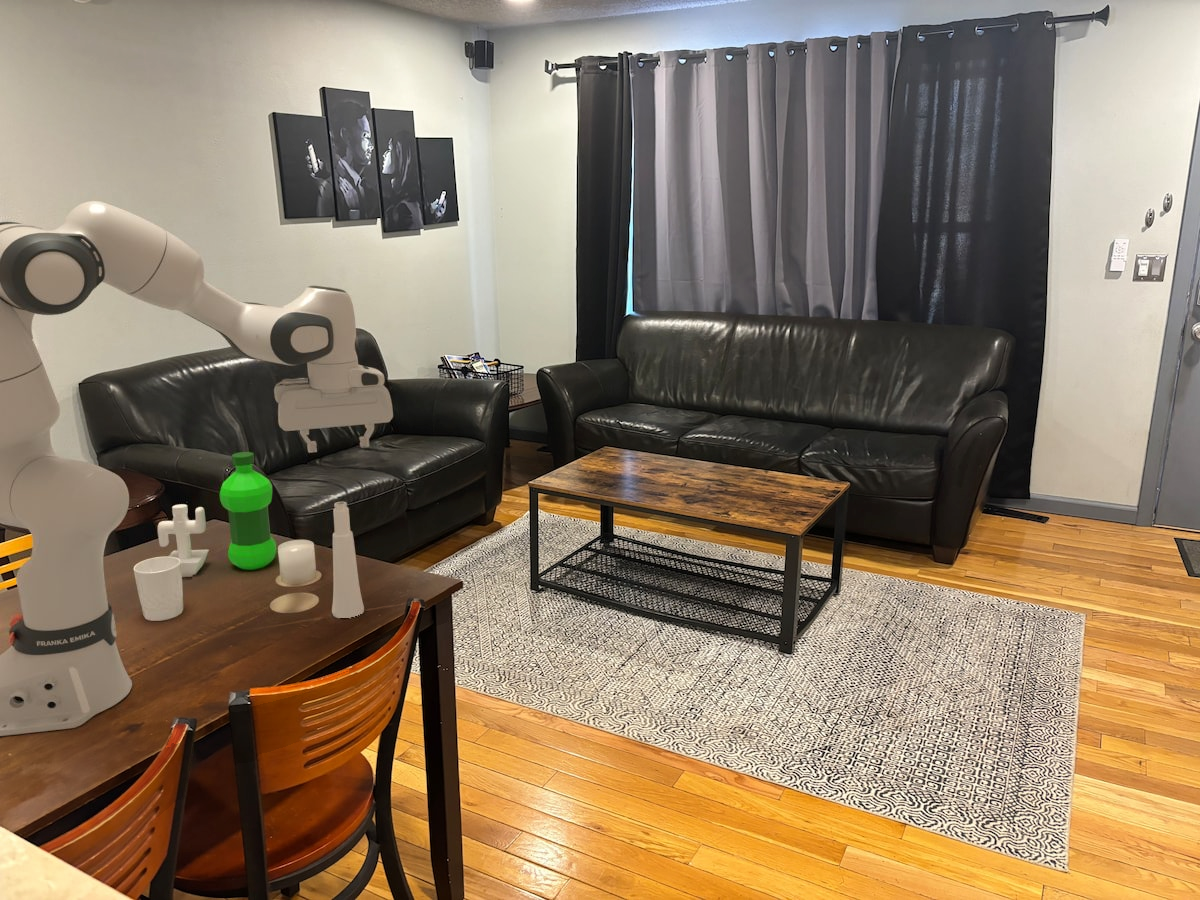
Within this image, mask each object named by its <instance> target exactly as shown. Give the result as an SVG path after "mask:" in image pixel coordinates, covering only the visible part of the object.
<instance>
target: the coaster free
mask: <svg viewBox="0 0 1200 900" xmlns="http://www.w3.org/2000/svg"><path fill="white" fill-rule="evenodd" d="M319 599H320V598H319V597H318V596H317V595H316V594H314V593H310V592H293V593H292V592H291V593H287V594H283V595H280V596H278V597H276V598H274V599H273V600H272V601H271V602H270V603H269V607H270V609H271V610H272V611H273V612H276V613H281V614H294V613H301V612H304V611H308V610H310V609H312V608H314V607H315V606H316V605H318V603H319V602H320V600H319Z"/></svg>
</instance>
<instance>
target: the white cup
mask: <svg viewBox="0 0 1200 900" xmlns="http://www.w3.org/2000/svg"><path fill="white" fill-rule="evenodd" d="M132 568H133V573H134V580H135V584H136V589H137V594H138V599H139V601H140V605H141V609H142V615H143V617H144V619H145V620H147V621H150V622H160V621H162V622H163V621H167V620H171V619H173V618H177V617H178V616H179V615H181V614H182V613H183V611H184V599H183V598H184V597H183V596H184V595H183V594H184V591H183V577H182V572H181V561H180V559H178V558H176V557H168V556H157V557H152V558H147V559H145V560H142V561H139V562H138V563H136V564H135V565H134V566H133V567H132Z"/></svg>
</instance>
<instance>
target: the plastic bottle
mask: <svg viewBox="0 0 1200 900" xmlns="http://www.w3.org/2000/svg"><path fill="white" fill-rule="evenodd" d="M254 457H255V456H254V452H251V451H242V452H235V453H233V454H232V455H231V463H232V465H233V466H235V471H234V472H233V473H232V474H230V476H228V477H227V478H226V479H225V480H224V481H223V482H222V484H221V487H220V491H219V501H220V503H221V505H222V507H223V508H224V509H226V510H227V511H228V512H227V514H228V521H229V522H228V523H229V529H230V530H229V531H230V540H231V541H229V542H230V543H229V547H228V551H227V557H228V559H229V562H231V564H233V566H236V567H237V568H239V569H241V570H245V571H248V570H250V571H253V570H258V569H263V568H264V567H266V566H268V565H269V564H270V563H272V562H273V560H274V559H275V557H276V553H277V542H276V541H275V539H274V537H273V536H272V534H271V528H270V526H271V525H270V519H269V505H270V504H271V503H272V499H273V485H272V483H271V481H270V479H268V478H267V477H265V476H264V475H263V474H261V473H259V472H258V471H256V470H255V469H253V464H254V463H255V458H254Z"/></svg>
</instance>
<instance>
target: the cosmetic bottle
mask: <svg viewBox="0 0 1200 900" xmlns="http://www.w3.org/2000/svg"><path fill="white" fill-rule="evenodd" d="M347 505H348V502H346V501H337V502H334V505H333V506H334V508H333V511H332V513H333V526H334V532H333V533H332V567H333V568H332V569H333V570H332V571H333V576H332V577H333V583H332V584H333V588H332V590H333V593H332V594H333V595H332V606H331V613H332V614H331V615H332V616H333V617H334V618H336V619H340V618H349V619H352V618H351V617H354V618H356V617H355V616H357V617H359V616H361V615H362V614H363V613H364V611H365V606H364V602H363V599H362V598H363V597H362V594H361V593H362V592H361V588H360V581H359V574H358V573H359V572H358V566H357V558H356V557H357V555H356V548H355V540H354V534H353V531H352V530H351V525H350V524H351V523H350V508H349V507H348V506H347ZM360 614H361V615H360ZM358 615H359V616H358Z"/></svg>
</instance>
